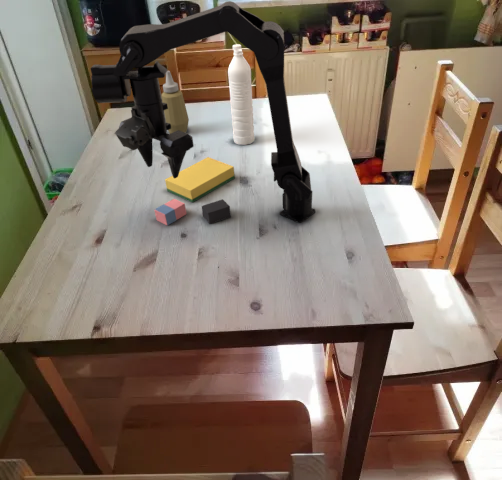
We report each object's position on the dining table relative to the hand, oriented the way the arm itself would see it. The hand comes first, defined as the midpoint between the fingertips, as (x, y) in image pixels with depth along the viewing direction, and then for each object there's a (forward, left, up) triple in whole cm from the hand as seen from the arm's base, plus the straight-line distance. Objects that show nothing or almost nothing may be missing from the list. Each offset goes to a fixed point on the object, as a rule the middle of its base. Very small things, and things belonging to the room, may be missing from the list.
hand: (162, 171), depth 107 cm
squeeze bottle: (+38, -36, -12) cm, 54 cm away
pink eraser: (0, 0, -12) cm, 12 cm away
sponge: (+6, -16, -12) cm, 21 cm away
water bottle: (+16, -44, -12) cm, 48 cm away
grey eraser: (-9, -7, -12) cm, 16 cm away
